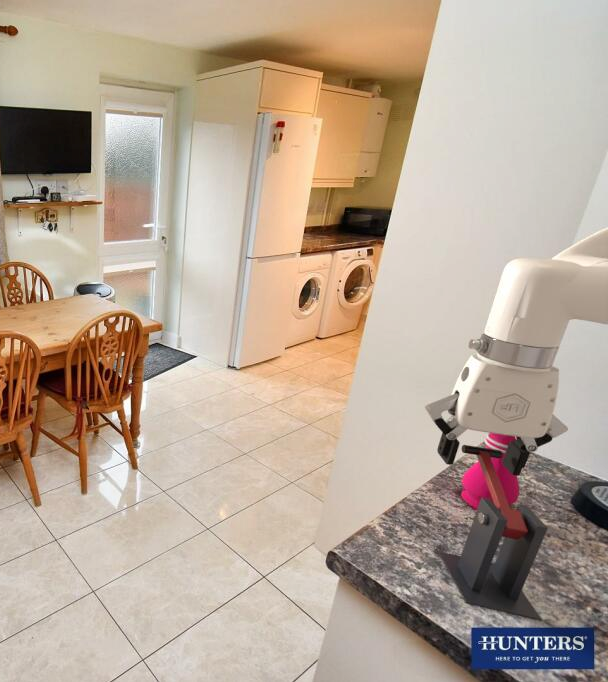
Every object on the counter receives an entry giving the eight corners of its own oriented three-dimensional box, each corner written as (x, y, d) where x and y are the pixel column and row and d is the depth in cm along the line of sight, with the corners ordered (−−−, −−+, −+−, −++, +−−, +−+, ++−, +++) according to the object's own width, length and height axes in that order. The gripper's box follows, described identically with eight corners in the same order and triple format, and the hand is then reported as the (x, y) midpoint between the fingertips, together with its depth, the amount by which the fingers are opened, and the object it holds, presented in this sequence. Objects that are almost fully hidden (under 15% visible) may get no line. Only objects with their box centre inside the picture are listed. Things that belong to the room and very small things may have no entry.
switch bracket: (436, 557, 66) (460, 484, 62) (501, 571, 63) (530, 496, 59) (463, 608, 58) (493, 528, 54) (539, 626, 55) (576, 544, 51)
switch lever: (458, 450, 66) (465, 440, 65) (494, 455, 65) (503, 446, 64) (486, 533, 57) (495, 525, 56) (529, 542, 56) (539, 534, 55)
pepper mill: (445, 500, 78) (479, 397, 72) (472, 491, 81) (506, 391, 74) (492, 527, 72) (533, 417, 66) (519, 517, 74) (562, 410, 68)
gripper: (451, 353, 59) (417, 467, 64) (620, 370, 54) (567, 492, 59) (429, 336, 66) (401, 441, 71) (577, 351, 61) (534, 462, 66)
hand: (477, 464), depth 65 cm, fingers open, 7 cm apart
